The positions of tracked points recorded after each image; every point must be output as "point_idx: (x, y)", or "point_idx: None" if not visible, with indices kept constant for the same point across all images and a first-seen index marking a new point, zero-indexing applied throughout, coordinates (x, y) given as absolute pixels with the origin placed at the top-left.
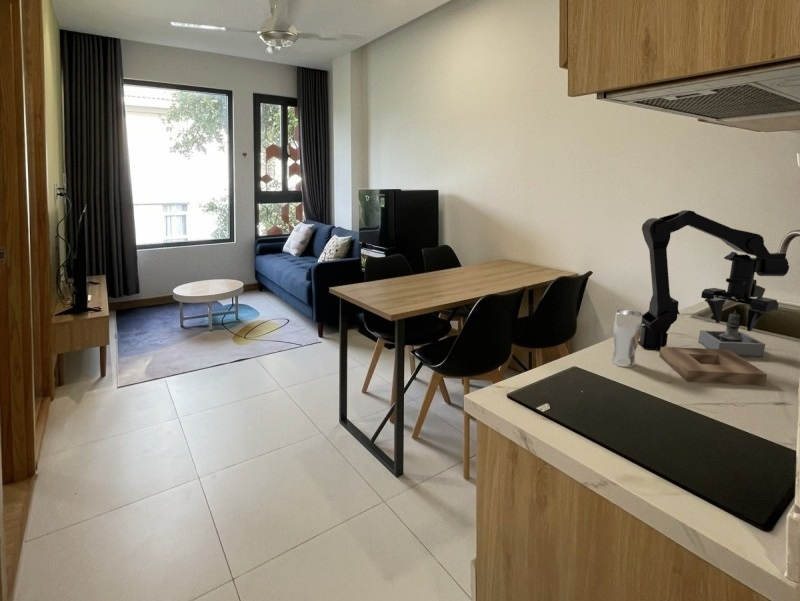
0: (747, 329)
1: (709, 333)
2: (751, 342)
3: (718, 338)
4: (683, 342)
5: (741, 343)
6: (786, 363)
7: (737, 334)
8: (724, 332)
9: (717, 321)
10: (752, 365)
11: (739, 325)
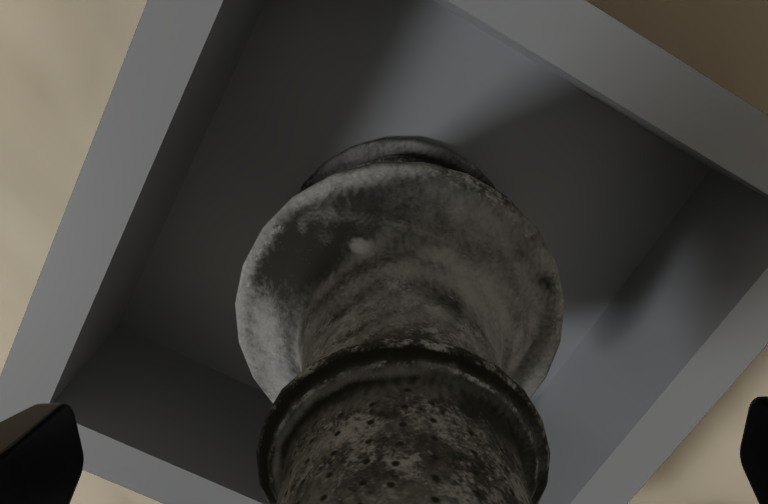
0: (758, 496)
1: (85, 340)
2: (610, 101)
3: (166, 198)
4: None
5: (661, 462)
6: None
7: (502, 349)
8: (159, 160)
9: (68, 494)
10: None
11: (535, 443)
